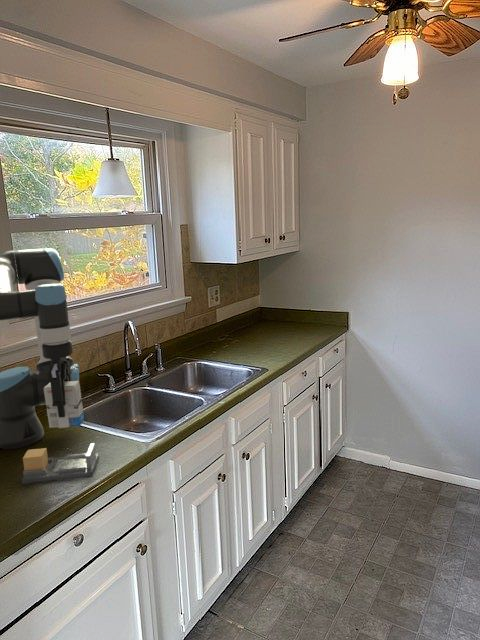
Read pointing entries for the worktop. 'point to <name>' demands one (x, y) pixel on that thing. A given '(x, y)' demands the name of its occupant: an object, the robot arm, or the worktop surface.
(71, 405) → the ink box
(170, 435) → the worktop surface
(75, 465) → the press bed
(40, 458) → the tan wooden cube
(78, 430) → the worktop surface
